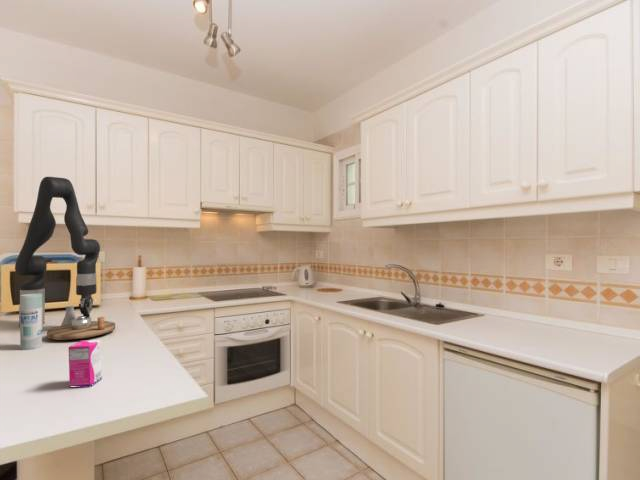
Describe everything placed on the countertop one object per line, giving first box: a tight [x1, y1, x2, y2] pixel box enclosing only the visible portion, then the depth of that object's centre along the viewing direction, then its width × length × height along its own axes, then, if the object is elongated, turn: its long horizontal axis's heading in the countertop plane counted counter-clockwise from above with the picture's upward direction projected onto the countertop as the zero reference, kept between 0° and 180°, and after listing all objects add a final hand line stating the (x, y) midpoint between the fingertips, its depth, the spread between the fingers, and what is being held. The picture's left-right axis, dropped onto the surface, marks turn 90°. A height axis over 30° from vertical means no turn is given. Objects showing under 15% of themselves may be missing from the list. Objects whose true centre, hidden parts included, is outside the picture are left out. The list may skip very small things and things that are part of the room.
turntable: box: [46, 316, 116, 341], centre depth 147 cm, size 24×24×7 cm
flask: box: [60, 305, 77, 326], centre depth 160 cm, size 7×7×10 cm
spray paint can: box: [19, 293, 43, 351], centre depth 130 cm, size 6×6×20 cm
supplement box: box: [68, 339, 103, 387], centre depth 96 cm, size 6×6×12 cm
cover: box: [72, 315, 92, 330], centre depth 147 cm, size 7×7×5 cm
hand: (86, 322), depth 153 cm, fingers closed
